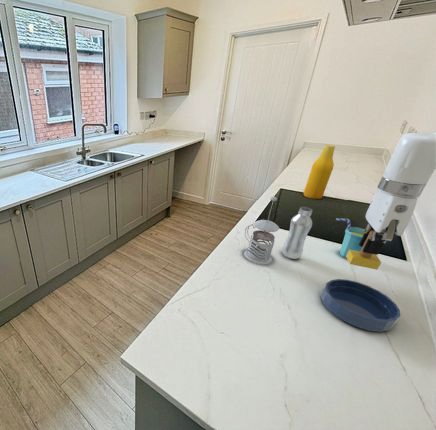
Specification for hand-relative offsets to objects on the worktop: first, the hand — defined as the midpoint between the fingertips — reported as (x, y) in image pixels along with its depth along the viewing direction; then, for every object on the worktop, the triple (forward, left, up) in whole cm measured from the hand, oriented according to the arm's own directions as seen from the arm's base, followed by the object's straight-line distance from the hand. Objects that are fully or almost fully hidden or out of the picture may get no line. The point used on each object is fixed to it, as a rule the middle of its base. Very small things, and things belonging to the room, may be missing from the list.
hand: (368, 249), depth 71 cm
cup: (-7, -29, -19) cm, 36 cm away
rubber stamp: (0, 0, -5) cm, 5 cm away
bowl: (-2, +3, -19) cm, 19 cm away
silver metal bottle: (+12, -20, -19) cm, 30 cm away
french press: (+24, -15, -19) cm, 34 cm away
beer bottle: (-6, -92, -19) cm, 95 cm away
